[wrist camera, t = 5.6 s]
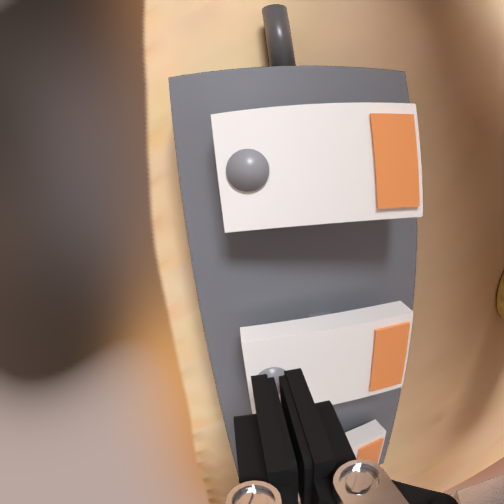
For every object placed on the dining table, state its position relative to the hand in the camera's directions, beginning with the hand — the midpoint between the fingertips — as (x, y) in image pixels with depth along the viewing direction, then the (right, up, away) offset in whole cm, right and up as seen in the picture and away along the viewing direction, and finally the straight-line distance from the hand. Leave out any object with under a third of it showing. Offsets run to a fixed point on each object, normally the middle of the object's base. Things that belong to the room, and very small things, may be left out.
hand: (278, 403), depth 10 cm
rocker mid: (+2, 0, +3) cm, 4 cm away
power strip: (+2, +4, +7) cm, 8 cm away
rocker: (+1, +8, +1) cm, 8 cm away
